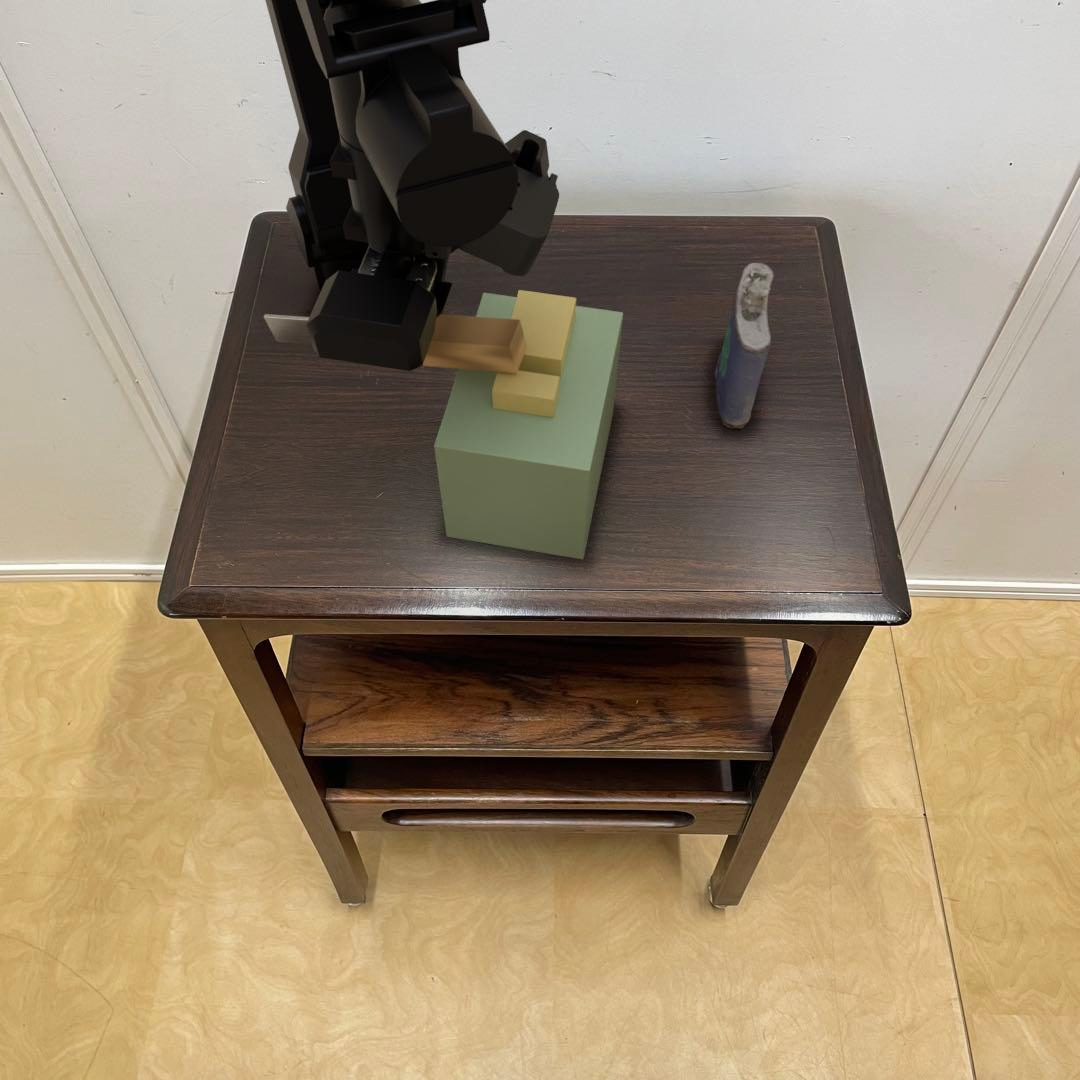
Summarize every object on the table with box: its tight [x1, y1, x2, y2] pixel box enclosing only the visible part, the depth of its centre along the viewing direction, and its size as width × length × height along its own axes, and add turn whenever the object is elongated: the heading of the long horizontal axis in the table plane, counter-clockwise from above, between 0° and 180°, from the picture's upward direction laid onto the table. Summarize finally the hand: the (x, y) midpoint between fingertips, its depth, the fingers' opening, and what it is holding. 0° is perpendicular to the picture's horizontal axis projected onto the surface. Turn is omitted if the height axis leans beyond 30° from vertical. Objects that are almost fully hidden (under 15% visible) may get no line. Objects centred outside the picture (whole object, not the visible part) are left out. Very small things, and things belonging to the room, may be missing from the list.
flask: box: [714, 262, 775, 429], centre depth 75 cm, size 9×3×11 cm, turn 172°
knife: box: [263, 313, 527, 373], centre depth 66 cm, size 18×2×2 cm, turn 74°
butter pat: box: [492, 370, 560, 418], centre depth 64 cm, size 4×2×2 cm, turn 79°
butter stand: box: [433, 292, 624, 560], centre depth 70 cm, size 10×14×11 cm
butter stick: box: [511, 289, 577, 378], centre depth 67 cm, size 4×6×2 cm
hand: (422, 337), depth 65 cm, fingers closed on knife, 2 cm apart
